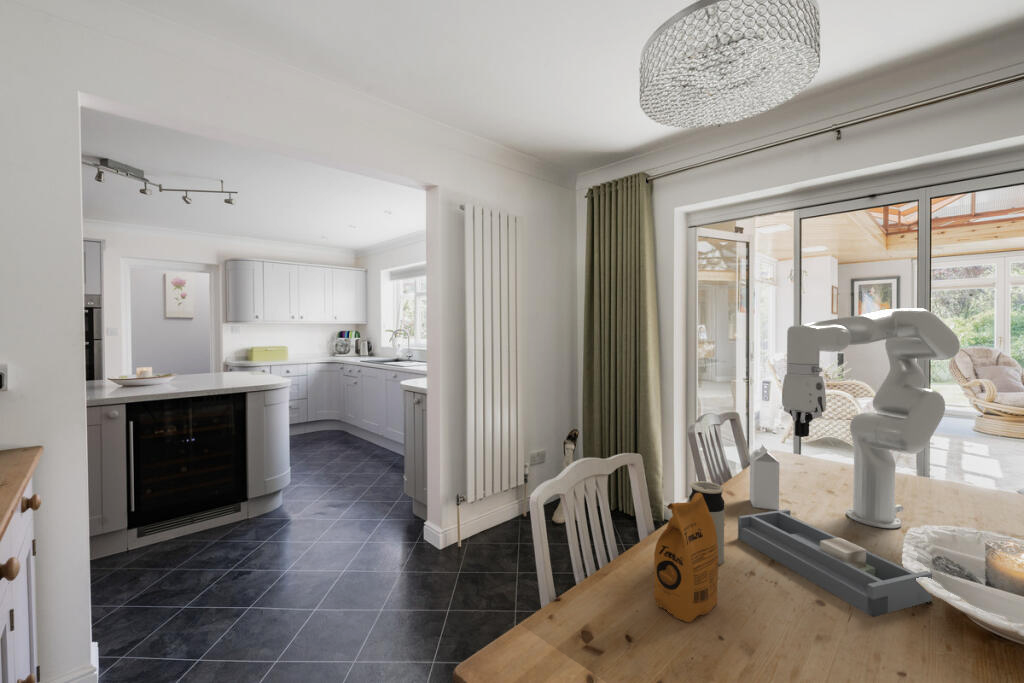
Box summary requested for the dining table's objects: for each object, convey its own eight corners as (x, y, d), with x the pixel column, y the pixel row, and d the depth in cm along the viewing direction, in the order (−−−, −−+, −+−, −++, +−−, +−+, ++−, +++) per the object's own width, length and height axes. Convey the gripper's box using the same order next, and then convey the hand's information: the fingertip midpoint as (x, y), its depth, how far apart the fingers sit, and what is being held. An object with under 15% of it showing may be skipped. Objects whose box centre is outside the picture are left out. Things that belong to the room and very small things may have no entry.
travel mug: (696, 546, 115) (697, 478, 114) (728, 558, 109) (729, 486, 108) (683, 558, 109) (683, 486, 109) (716, 570, 103) (717, 494, 103)
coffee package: (645, 601, 92) (646, 497, 91) (683, 583, 98) (684, 485, 98) (687, 629, 83) (688, 514, 83) (725, 606, 90) (726, 500, 89)
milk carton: (773, 502, 144) (774, 444, 143) (779, 510, 137) (779, 450, 137) (749, 499, 146) (750, 443, 146) (753, 507, 139) (754, 448, 139)
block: (839, 554, 104) (839, 537, 104) (865, 567, 98) (866, 549, 98) (819, 557, 102) (820, 540, 102) (845, 571, 96) (846, 553, 96)
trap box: (787, 530, 124) (787, 509, 124) (931, 601, 91) (932, 573, 91) (738, 538, 119) (738, 516, 119) (872, 617, 86) (872, 587, 86)
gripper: (839, 372, 115) (838, 441, 116) (789, 367, 130) (788, 429, 130) (818, 373, 113) (817, 443, 114) (769, 368, 128) (768, 431, 128)
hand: (801, 435), depth 122 cm, fingers closed
